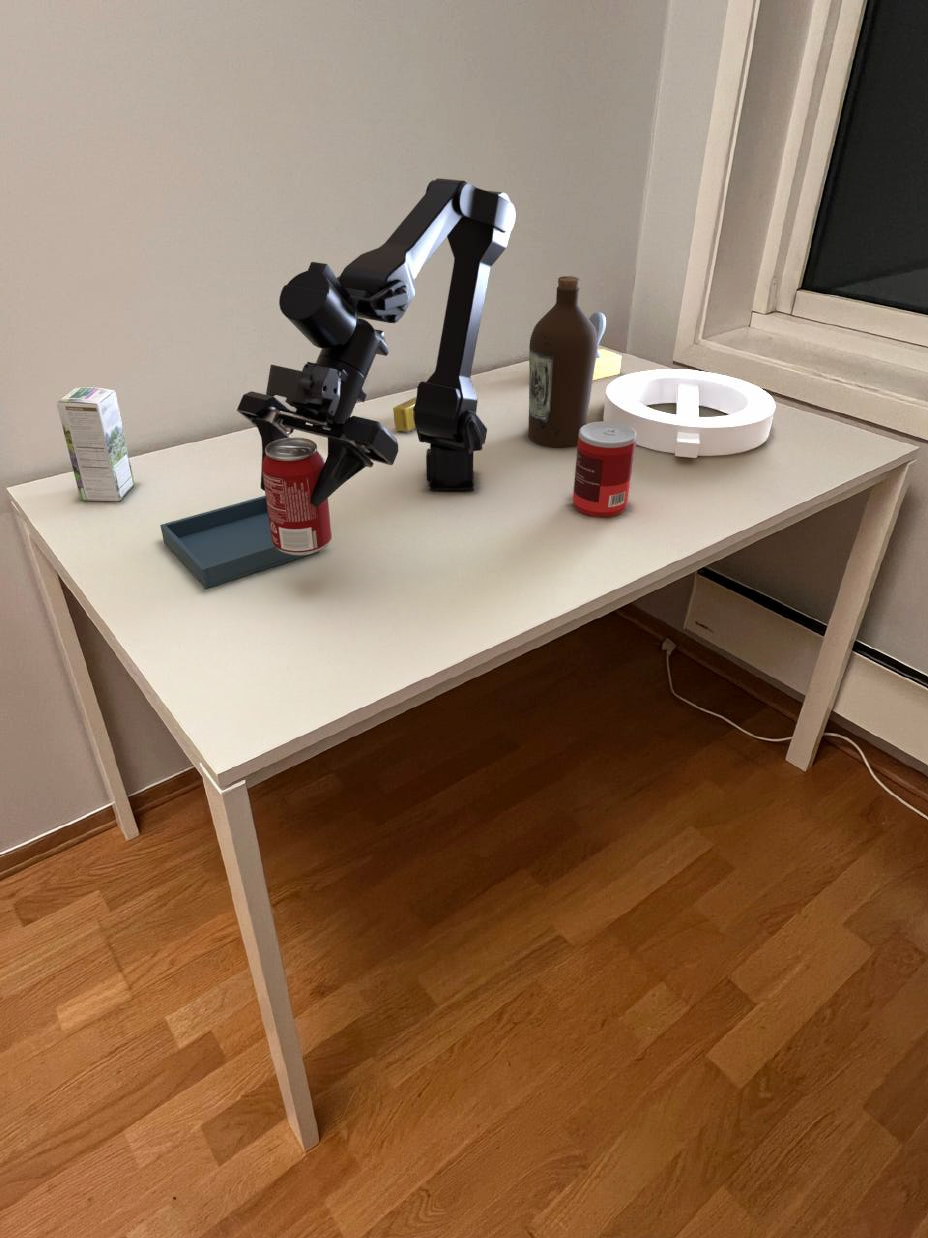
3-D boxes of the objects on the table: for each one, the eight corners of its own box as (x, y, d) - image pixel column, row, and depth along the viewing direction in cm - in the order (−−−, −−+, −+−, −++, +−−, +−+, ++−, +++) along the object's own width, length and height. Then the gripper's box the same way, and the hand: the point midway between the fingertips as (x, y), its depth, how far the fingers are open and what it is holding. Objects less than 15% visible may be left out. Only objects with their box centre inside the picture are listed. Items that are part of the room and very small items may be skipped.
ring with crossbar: (685, 385, 161) (689, 360, 159) (804, 433, 142) (811, 406, 139) (570, 412, 149) (573, 386, 146) (684, 469, 129) (689, 440, 127)
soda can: (319, 562, 94) (308, 463, 87) (263, 555, 95) (248, 456, 88) (340, 534, 99) (332, 438, 92) (287, 527, 100) (274, 432, 94)
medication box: (433, 410, 149) (431, 387, 147) (446, 411, 148) (444, 389, 146) (394, 430, 140) (391, 406, 138) (407, 432, 139) (405, 408, 137)
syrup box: (97, 483, 123) (72, 386, 114) (137, 485, 122) (115, 387, 114) (80, 501, 118) (53, 400, 110) (121, 502, 118) (97, 402, 109)
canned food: (631, 497, 121) (641, 424, 115) (621, 522, 115) (631, 446, 108) (579, 489, 123) (586, 417, 117) (566, 513, 117) (573, 438, 110)
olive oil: (568, 421, 145) (581, 268, 131) (600, 443, 137) (618, 283, 123) (513, 430, 142) (520, 273, 127) (543, 453, 134) (555, 289, 119)
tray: (271, 511, 116) (269, 494, 114) (319, 551, 107) (317, 533, 105) (164, 543, 108) (159, 524, 107) (205, 589, 99) (202, 569, 98)
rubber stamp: (600, 366, 170) (606, 305, 163) (620, 374, 166) (627, 311, 160) (563, 375, 165) (568, 312, 159) (583, 383, 161) (589, 319, 155)
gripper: (235, 317, 90) (178, 449, 89) (378, 345, 83) (318, 490, 81) (290, 369, 100) (240, 488, 99) (422, 398, 93) (370, 528, 91)
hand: (288, 497), depth 92 cm, fingers closed on soda can, 7 cm apart
